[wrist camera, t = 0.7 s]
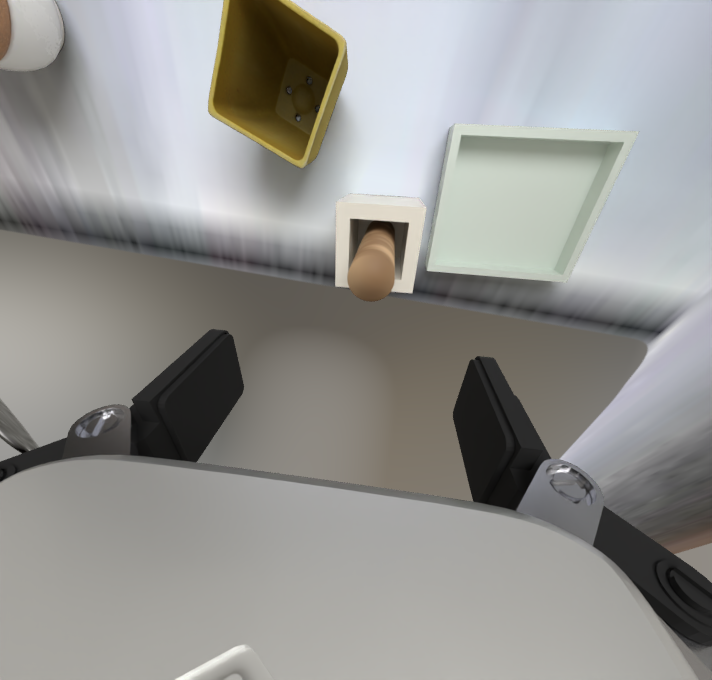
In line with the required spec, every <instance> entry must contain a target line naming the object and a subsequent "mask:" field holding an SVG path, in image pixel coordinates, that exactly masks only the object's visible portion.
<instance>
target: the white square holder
mask: <svg viewBox="0 0 712 680" xmlns="http://www.w3.org/2000/svg"><path fill="white" fill-rule="evenodd" d="M425 214H426V206H425V205H424V204H423V202H422V201H421V200H420V198H415V197H400V196H384V195H368V194H352V193H350V194H348V195H346V196H345V197H343V198H341V199H340V200H338V201H336V278H335V286H336V287H347V288H349V286H348V281H347V275H348V271H349V269H350V266H351V264H352V262H353V259H354V257H355V255H356V253H357V250H358V248H359V246H360V244H361V241H362V239H363V237H364V235H365V232H366V230H367V228H368V226H369V224H370V223H371V222H372V221H374V220H379V221H390V222H391V223H392V225H393V227H394V230H395V282H394V286H393V288H392V290H391V292H403V293H412V292H413V286H414V280H415V274H416V268H417V262H418V256H419V250H420V244H421V238H422V232H423V226H424V220H425Z"/></svg>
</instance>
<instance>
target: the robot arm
mask: <svg viewBox="0 0 712 680" xmlns="http://www.w3.org/2000/svg"><path fill="white" fill-rule="evenodd" d="M243 390H244V384H243V380H242V375H241V371H240V367H239V362H238V357H237V353H236V348H235V344H234V339H233V337H232V335H229V333H228V331H225V330H215V329H212V330H209V331H208V332H207V333H206V334H205V335H204V336H203V337H202V338H201V339H199V340H198V341H197V342H196V343H195V344H194V345H193V346H191V347H190V348H189V349H188V350H187V351H186V352H185V353H184V354H182V355H181V356H180V357H179V358H178V359H177V360H176V361H174V363H172V364H171V365H170V366H169V367H168V368H166V369H165V370H164V371H163V372H162V373H161V374H160V375H159V376H158V377H156V378H155V379H154V380H153V381H152V382H151V383H150V384H149V385H147V386H146V387H145V388H144V389H143V390H142V391H141V392H140V393H138V394H137V395H136V396H135V397H134V398H133V399H132V401H133V403H134V405H132V406H131V407H130V408H128V407H127V406H124V405H119V404H118V405H108V406H104V407H101V408H98V409H95V410H93V411H91V412H89V413H87V414H86V415H84V416H83V417H81V418H80V419H78V420H77V421H76V422H75V423H74V424H73V425H72V426H71V428H70V430H69V432H68V436H67V438H64V439H61V440H59V441H56V442H53V443H51V444H48V445H45V446H42V447H39V448H37V449H34V450H31V451H28V452H26V453H23V454H21V455H18V456H15V457H12V458H10V459H7V460H4V461H1V462H0V680H712V583H711V582H710V581H709V580H707V578H706V577H704V576H703V575H702V574H700V573H699V572H697V570H695V569H694V568H693V567H691V566H690V565H688V564H687V563H686V562H684V561H683V560H681V559H680V558H678V557H677V556H675V555H674V554H673V553H671V552H670V551H668V550H667V549H665V548H664V547H662V546H661V545H660V544H658V543H657V542H655V541H654V540H652V539H651V538H649V537H648V536H647V535H645V534H644V533H642V532H641V531H639V530H638V529H636V528H635V527H634V526H632V525H631V524H629V523H628V522H626V521H625V520H623V519H622V518H620V517H619V516H618V515H616V514H615V513H613V512H612V511H610V510H609V509H607V508H606V507H605V506H604V496H603V494H602V492H601V489H600V488H599V486H598V485H597V484H596V482H595V481H594V480H593V479H592V478H591V477H590V476H589V475H588V474H587V473H586V472H584V471H583V470H581V469H580V468H578V467H577V466H575V465H573V464H571V463H569V462H566V461H563V460H559V459H551V457H550V456H549V454H548V452H547V450H546V448H545V446H544V445H543V443H542V441H541V439H540V437H539V435H538V434H537V432H536V430H535V428H534V426H533V425H532V423H531V421H530V419H529V417H528V415H527V413H526V412H525V410H524V408H523V406H522V404H521V403H520V401H519V399H518V398H517V397H516V396H515V395H514V394H513V392H512V391H511V388H510V387H509V385H508V383H507V381H506V379H505V377H504V375H503V374H502V372H501V370H500V368H499V366H498V364H497V362H496V360H495V359H494V358H490V357H480V356H477V357H476V358H475V360H470V362H469V365H468V368H467V371H466V374H465V377H464V380H463V383H462V386H461V389H460V392H459V395H458V398H457V401H456V404H455V408H454V411H453V420H454V424H455V427H456V432H457V436H458V440H459V444H460V449H461V453H462V457H463V461H464V465H465V469H466V473H467V478H468V482H469V486H470V490H471V494H472V498H473V501H474V502H471V501H465V500H458V499H453V498H446V497H440V496H434V495H428V494H421V493H414V492H406V491H399V490H392V489H386V488H378V487H371V486H365V485H358V484H350V483H343V482H337V481H329V480H322V479H315V478H308V477H301V476H293V475H286V474H279V473H271V472H264V471H257V470H248V469H242V468H233V467H226V466H219V465H211V464H204V463H196V462H197V461H198V459H199V458H200V456H201V455H202V453H203V452H204V450H205V449H206V447H207V446H208V444H209V443H210V441H211V440H212V438H213V437H214V435H215V434H216V432H217V431H218V429H219V428H220V426H221V425H222V423H223V422H224V420H225V419H226V417H227V416H228V414H229V413H230V411H231V410H232V408H233V407H234V405H235V404H236V402H237V401H238V399H239V398H240V396H241V395H242V393H243Z"/></svg>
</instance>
